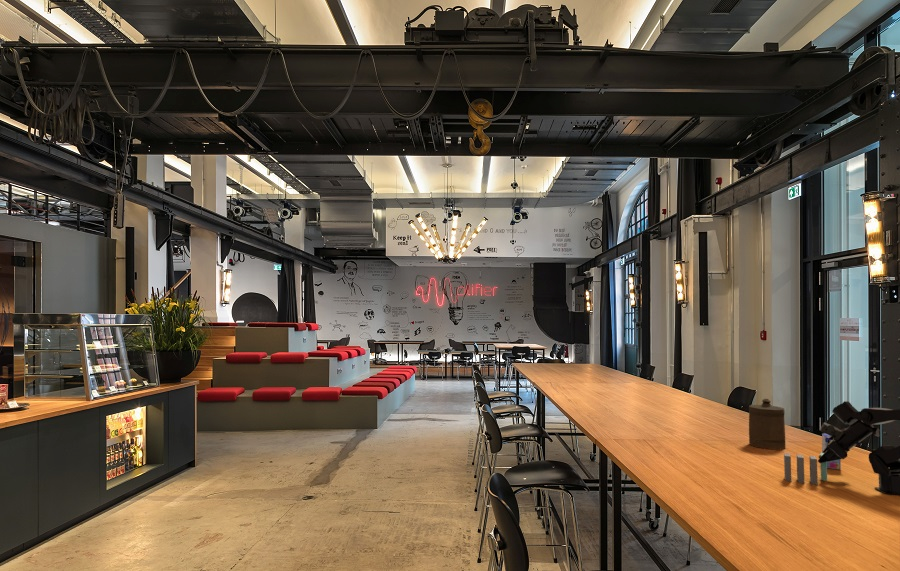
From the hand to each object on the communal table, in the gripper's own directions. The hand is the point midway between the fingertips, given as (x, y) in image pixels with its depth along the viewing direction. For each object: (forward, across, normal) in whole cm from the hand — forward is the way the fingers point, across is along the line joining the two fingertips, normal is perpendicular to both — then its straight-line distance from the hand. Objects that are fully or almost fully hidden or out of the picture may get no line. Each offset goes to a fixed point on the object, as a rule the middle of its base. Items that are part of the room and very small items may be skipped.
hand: (819, 460), depth 204 cm
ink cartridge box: (+2, -24, +7) cm, 25 cm away
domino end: (+11, +10, -2) cm, 15 cm away
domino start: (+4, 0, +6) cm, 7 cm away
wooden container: (+20, -50, -11) cm, 55 cm away
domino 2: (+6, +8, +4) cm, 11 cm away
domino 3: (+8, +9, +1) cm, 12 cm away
